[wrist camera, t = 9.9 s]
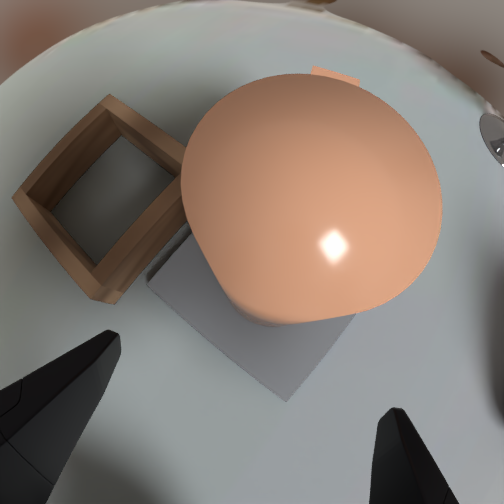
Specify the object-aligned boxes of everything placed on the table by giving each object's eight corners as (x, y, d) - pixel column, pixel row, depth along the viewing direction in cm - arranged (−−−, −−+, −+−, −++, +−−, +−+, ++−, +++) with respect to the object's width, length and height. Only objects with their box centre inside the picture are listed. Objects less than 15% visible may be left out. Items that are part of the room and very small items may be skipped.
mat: (387, 264, 20) (390, 262, 20) (284, 400, 18) (286, 402, 17) (260, 163, 22) (260, 159, 21) (149, 285, 19) (146, 284, 19)
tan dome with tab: (308, 338, 18) (424, 345, 6) (210, 310, 19) (138, 265, 6) (340, 204, 20) (434, 61, 8) (252, 178, 21) (259, 7, 8)
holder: (215, 190, 21) (210, 165, 18) (114, 304, 19) (90, 299, 16) (123, 120, 22) (109, 93, 19) (36, 214, 20) (11, 197, 17)
